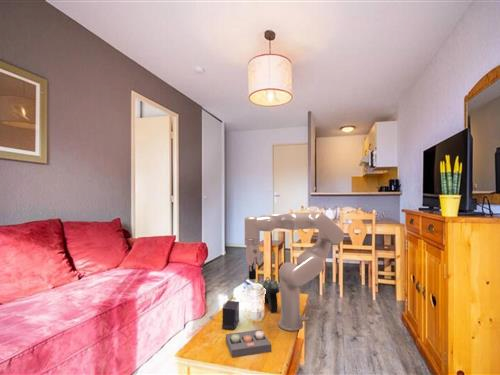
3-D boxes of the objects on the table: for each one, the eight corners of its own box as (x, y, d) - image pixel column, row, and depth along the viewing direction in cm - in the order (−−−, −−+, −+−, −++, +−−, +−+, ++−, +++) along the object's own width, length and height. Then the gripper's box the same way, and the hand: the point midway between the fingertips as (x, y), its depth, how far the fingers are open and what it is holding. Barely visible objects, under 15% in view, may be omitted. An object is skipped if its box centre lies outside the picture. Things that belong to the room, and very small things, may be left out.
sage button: (238, 339, 124) (238, 333, 124) (240, 343, 120) (240, 337, 121) (230, 340, 123) (230, 334, 123) (232, 344, 120) (232, 338, 120)
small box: (234, 330, 138) (234, 308, 138) (221, 329, 139) (221, 307, 139) (239, 321, 148) (239, 301, 148) (227, 320, 149) (227, 300, 150)
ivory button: (262, 336, 127) (262, 330, 127) (264, 339, 123) (264, 334, 123) (254, 337, 126) (254, 331, 126) (256, 341, 122) (256, 335, 123)
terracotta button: (250, 340, 125) (250, 334, 125) (252, 344, 122) (252, 338, 122) (242, 341, 124) (242, 335, 124) (244, 345, 121) (244, 339, 121)
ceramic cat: (280, 313, 157) (279, 277, 158) (269, 314, 156) (268, 278, 157) (269, 301, 177) (269, 269, 178) (259, 302, 175) (259, 269, 176)
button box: (261, 335, 132) (261, 328, 132) (271, 351, 119) (271, 343, 119) (225, 340, 128) (225, 333, 128) (231, 357, 114) (231, 349, 114)
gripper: (264, 243, 133) (264, 282, 132) (255, 239, 147) (255, 274, 146) (248, 244, 131) (249, 284, 130) (241, 239, 145) (241, 275, 144)
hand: (252, 279), depth 138 cm, fingers closed
